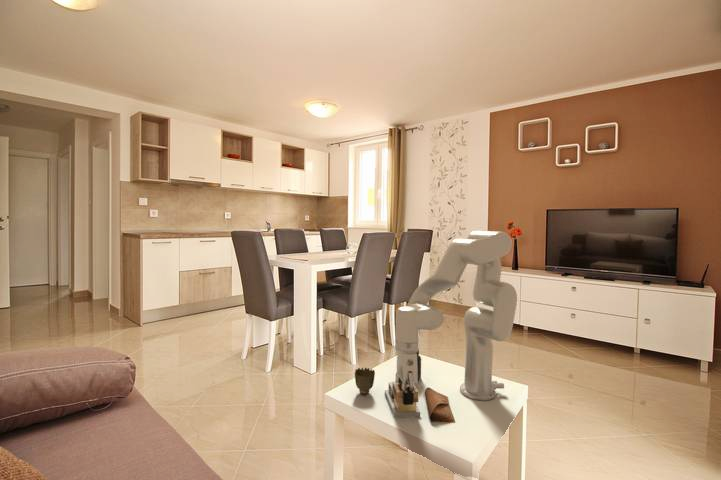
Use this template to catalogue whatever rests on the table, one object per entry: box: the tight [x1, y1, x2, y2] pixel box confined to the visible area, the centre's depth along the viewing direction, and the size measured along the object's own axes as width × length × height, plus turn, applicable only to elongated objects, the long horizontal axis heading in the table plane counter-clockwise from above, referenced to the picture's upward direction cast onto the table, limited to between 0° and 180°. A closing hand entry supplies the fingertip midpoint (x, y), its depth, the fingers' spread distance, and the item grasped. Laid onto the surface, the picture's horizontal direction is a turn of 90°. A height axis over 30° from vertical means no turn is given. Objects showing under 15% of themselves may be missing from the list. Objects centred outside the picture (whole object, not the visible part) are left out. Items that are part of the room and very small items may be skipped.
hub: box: [394, 383, 417, 412], centre depth 117 cm, size 6×6×8 cm
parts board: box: [384, 389, 421, 419], centre depth 122 cm, size 8×16×2 cm, turn 7°
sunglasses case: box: [423, 386, 456, 424], centre depth 120 cm, size 18×7×7 cm, turn 176°
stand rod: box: [387, 371, 398, 399], centre depth 126 cm, size 6×6×8 cm
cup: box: [354, 367, 376, 395], centre depth 130 cm, size 8×7×8 cm
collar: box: [392, 382, 420, 403], centre depth 117 cm, size 7×7×4 cm
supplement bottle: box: [407, 348, 422, 382], centre depth 143 cm, size 7×7×12 cm
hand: (405, 398), depth 117 cm, fingers closed on collar, 7 cm apart
